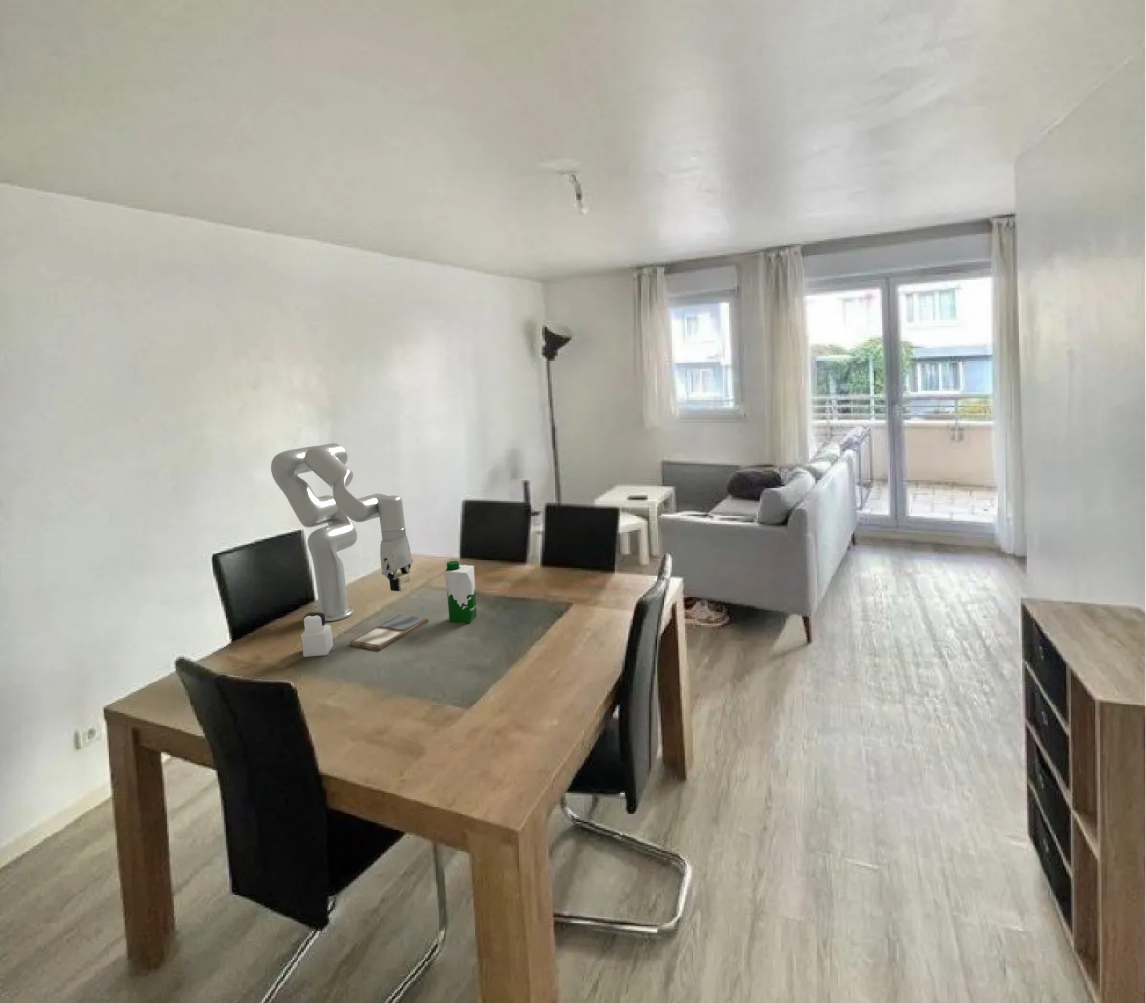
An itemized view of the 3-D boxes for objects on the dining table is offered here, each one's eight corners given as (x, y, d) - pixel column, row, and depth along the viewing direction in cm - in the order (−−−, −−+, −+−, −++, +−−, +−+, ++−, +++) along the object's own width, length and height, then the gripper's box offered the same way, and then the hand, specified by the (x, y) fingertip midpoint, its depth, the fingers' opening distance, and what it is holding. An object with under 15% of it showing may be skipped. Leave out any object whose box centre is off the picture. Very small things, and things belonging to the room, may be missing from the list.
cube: (390, 590, 215) (389, 577, 214) (399, 585, 219) (398, 572, 218) (401, 591, 213) (400, 578, 212) (410, 587, 217) (409, 574, 216)
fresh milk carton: (455, 613, 228) (450, 558, 224) (480, 614, 226) (476, 559, 222) (446, 623, 220) (441, 566, 216) (471, 624, 218) (467, 567, 214)
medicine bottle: (310, 647, 205) (305, 611, 203) (333, 645, 206) (329, 609, 203) (303, 657, 198) (297, 620, 196) (327, 655, 199) (322, 618, 197)
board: (349, 645, 206) (349, 641, 206) (400, 617, 227) (399, 613, 227) (380, 650, 201) (379, 646, 201) (428, 621, 222) (428, 618, 222)
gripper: (401, 527, 222) (407, 579, 225) (366, 540, 207) (373, 595, 210) (419, 528, 218) (425, 581, 222) (385, 541, 203) (392, 597, 207)
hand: (400, 587), depth 216 cm, fingers closed on cube, 4 cm apart
